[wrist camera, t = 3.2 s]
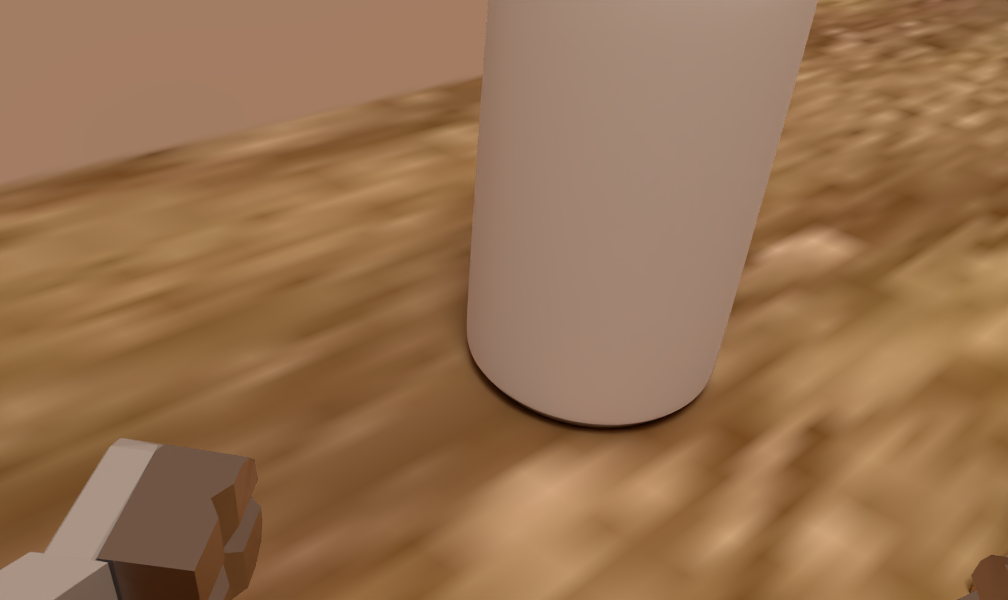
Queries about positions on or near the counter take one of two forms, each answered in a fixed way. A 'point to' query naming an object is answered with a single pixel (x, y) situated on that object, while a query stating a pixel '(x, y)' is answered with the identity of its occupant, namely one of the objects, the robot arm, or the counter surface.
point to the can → (620, 194)
